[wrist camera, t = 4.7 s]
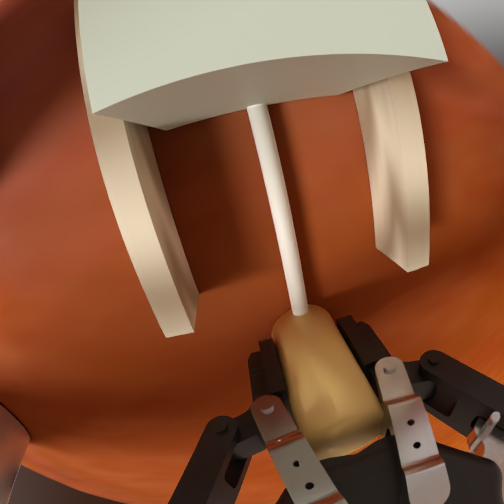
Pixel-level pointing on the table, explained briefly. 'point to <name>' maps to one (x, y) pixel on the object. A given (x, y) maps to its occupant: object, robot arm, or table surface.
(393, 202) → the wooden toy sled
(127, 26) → the tethered block
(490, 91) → the table surface
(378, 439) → the robot arm
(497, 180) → the table surface
